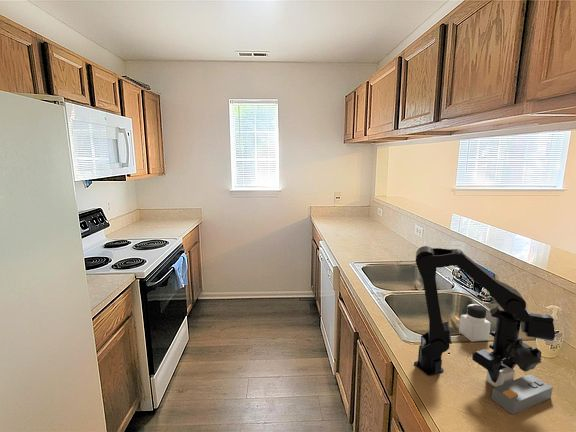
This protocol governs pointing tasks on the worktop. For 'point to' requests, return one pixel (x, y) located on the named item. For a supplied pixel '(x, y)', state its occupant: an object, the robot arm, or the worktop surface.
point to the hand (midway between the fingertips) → (499, 379)
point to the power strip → (521, 393)
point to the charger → (502, 376)
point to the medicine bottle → (475, 324)
